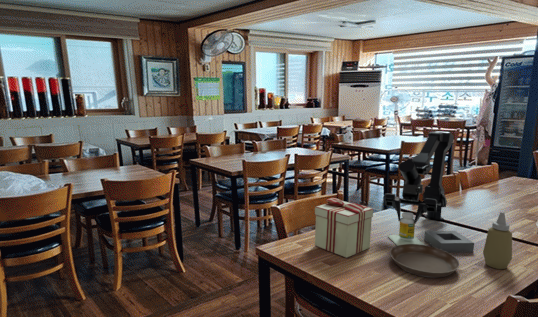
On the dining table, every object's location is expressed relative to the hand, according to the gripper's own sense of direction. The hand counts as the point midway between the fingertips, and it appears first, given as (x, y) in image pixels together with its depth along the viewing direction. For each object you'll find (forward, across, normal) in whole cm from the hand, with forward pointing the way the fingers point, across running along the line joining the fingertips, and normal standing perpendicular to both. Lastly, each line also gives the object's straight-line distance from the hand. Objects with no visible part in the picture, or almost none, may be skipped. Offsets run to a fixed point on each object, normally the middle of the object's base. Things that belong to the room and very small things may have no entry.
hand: (406, 222), depth 135 cm
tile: (+5, 0, +6) cm, 8 cm away
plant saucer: (+18, +8, -6) cm, 21 cm away
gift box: (+16, -20, -4) cm, 26 cm away
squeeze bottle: (+10, +29, +2) cm, 31 cm away
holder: (+3, +14, +9) cm, 17 cm away
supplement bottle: (+4, 0, +6) cm, 7 cm away
